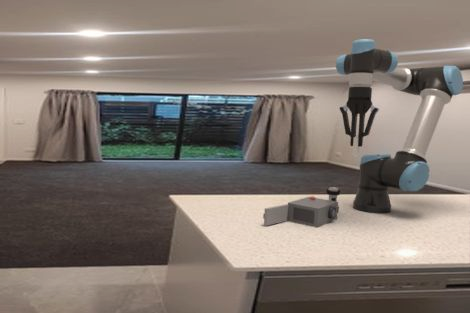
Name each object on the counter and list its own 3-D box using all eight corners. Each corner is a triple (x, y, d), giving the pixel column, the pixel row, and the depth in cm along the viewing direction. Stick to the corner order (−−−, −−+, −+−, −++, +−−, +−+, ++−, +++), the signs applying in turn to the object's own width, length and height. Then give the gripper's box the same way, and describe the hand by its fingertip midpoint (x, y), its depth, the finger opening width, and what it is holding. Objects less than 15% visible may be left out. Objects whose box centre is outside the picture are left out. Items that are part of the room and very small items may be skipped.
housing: (308, 213, 156) (309, 194, 155) (340, 219, 147) (341, 200, 147) (286, 220, 143) (287, 200, 142) (320, 228, 135) (321, 207, 134)
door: (288, 220, 142) (289, 204, 141) (266, 225, 134) (267, 209, 133) (284, 219, 143) (285, 203, 143) (262, 224, 135) (263, 208, 135)
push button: (329, 215, 154) (331, 189, 152) (319, 212, 158) (321, 187, 157) (341, 213, 157) (343, 188, 156) (331, 210, 162) (333, 186, 161)
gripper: (382, 87, 136) (377, 156, 138) (344, 87, 142) (339, 153, 145) (378, 85, 129) (372, 158, 132) (338, 85, 136) (333, 155, 138)
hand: (355, 155), depth 138 cm, fingers closed
